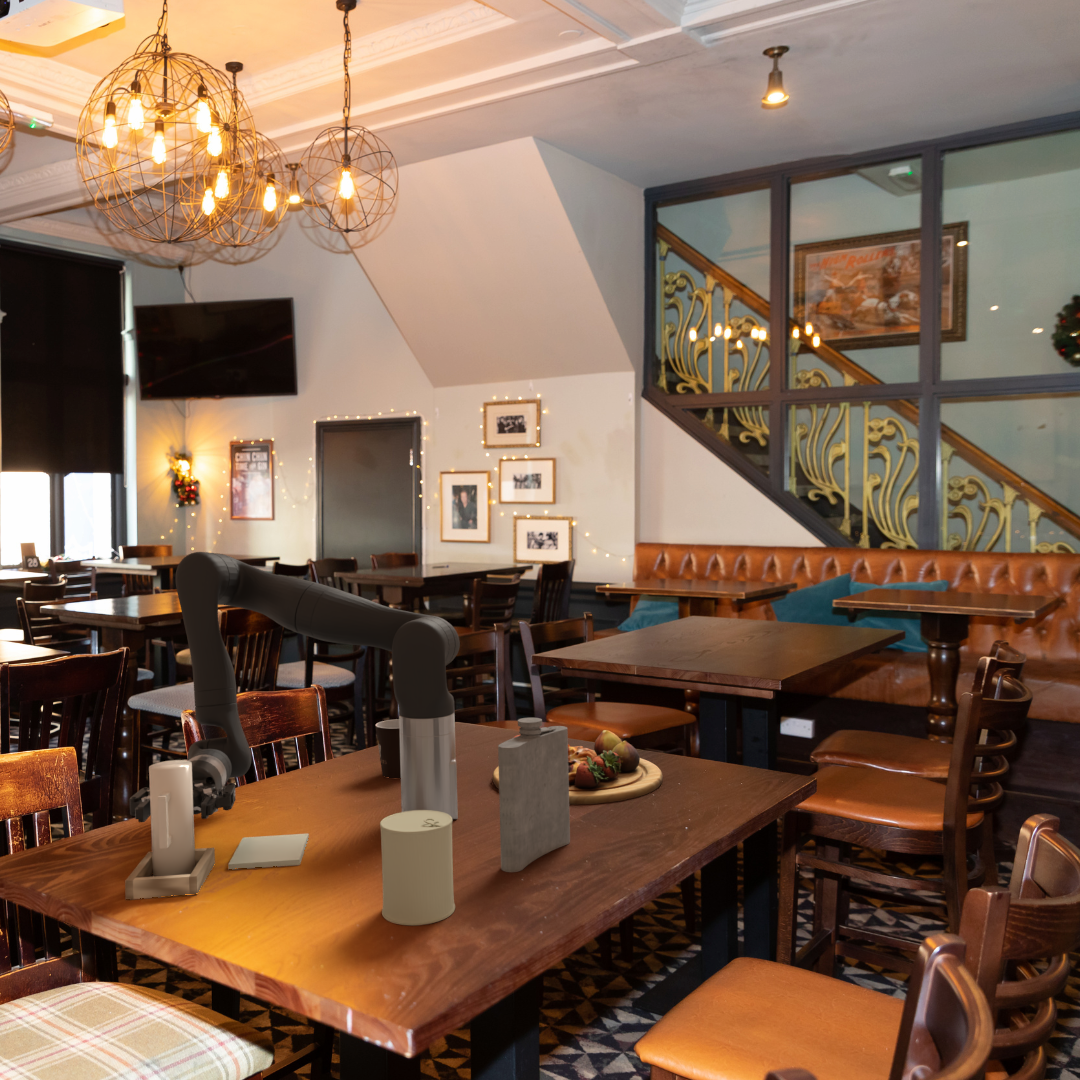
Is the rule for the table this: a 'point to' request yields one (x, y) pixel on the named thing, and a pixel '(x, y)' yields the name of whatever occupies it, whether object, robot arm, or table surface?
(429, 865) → the can
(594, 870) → the table surface
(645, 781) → the wooden plate with food
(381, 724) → the coffee mug
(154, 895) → the collar
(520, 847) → the hip flask
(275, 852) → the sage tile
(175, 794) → the cream jug
